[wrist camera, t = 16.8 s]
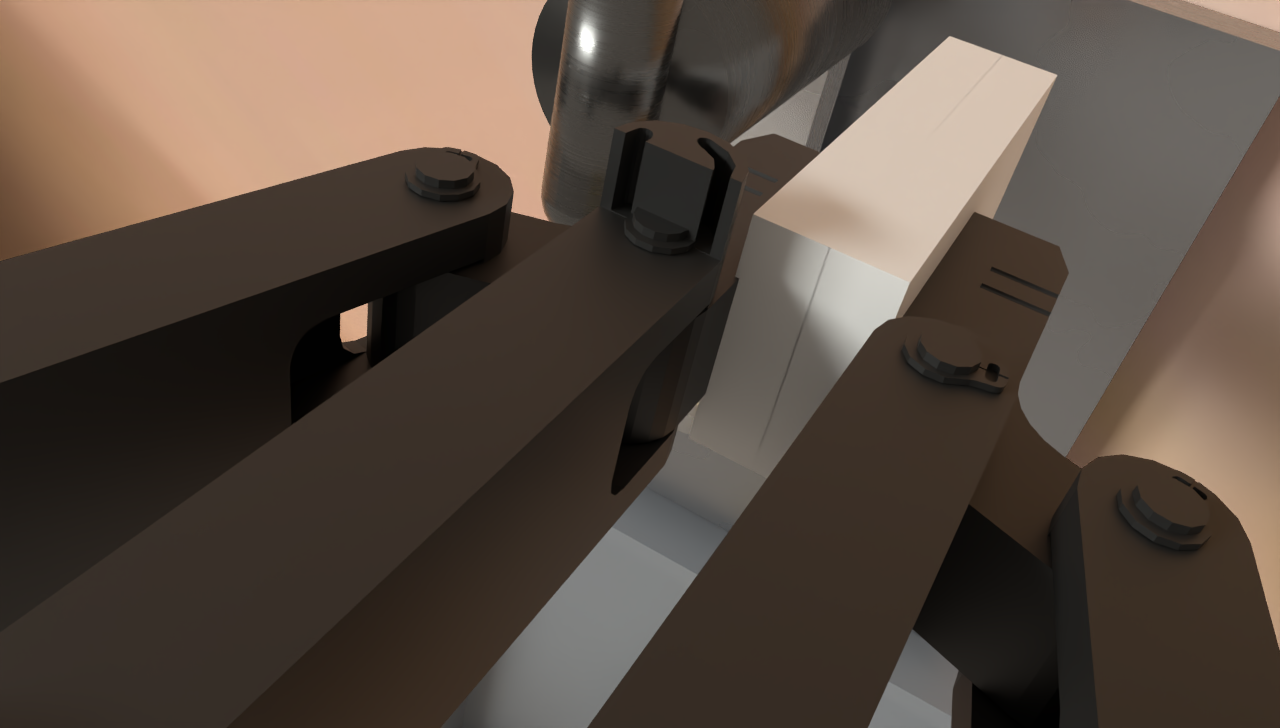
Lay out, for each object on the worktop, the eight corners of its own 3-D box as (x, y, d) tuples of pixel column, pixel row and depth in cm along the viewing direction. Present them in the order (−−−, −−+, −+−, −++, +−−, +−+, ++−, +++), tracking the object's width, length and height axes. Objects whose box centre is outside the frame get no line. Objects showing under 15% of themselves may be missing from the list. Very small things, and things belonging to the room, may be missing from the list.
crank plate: (581, 418, 32) (555, 443, 30) (697, -160, 22) (665, -152, 21) (963, 620, 28) (948, 656, 27) (1303, 40, 18) (1301, 61, 17)
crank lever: (768, 416, 26) (569, 670, 19) (657, 360, 27) (429, 585, 20) (959, -139, 18) (737, -38, 12) (793, -190, 19) (496, -125, 12)
